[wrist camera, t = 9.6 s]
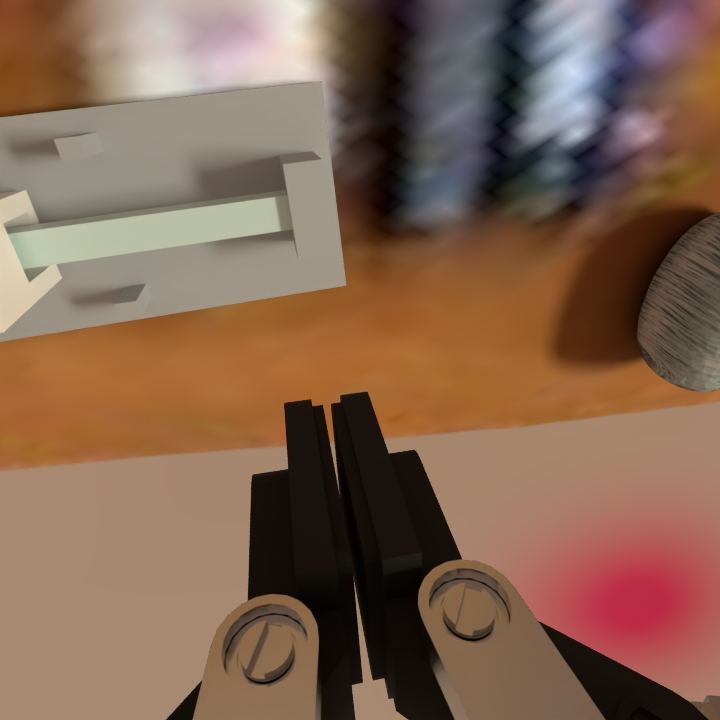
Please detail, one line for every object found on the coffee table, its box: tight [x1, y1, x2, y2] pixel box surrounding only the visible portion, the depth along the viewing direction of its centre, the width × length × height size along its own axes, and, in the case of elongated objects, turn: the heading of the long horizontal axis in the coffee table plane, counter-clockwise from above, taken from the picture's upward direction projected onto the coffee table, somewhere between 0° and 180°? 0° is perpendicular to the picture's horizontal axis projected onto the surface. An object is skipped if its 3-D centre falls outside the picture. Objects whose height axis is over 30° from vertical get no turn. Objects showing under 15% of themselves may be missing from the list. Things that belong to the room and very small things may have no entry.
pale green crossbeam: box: [5, 190, 293, 269], centre depth 26 cm, size 2×26×2 cm, turn 96°
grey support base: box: [0, 81, 346, 342], centre depth 27 cm, size 12×30×8 cm, turn 96°
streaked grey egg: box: [637, 212, 720, 392], centre depth 37 cm, size 14×10×10 cm
